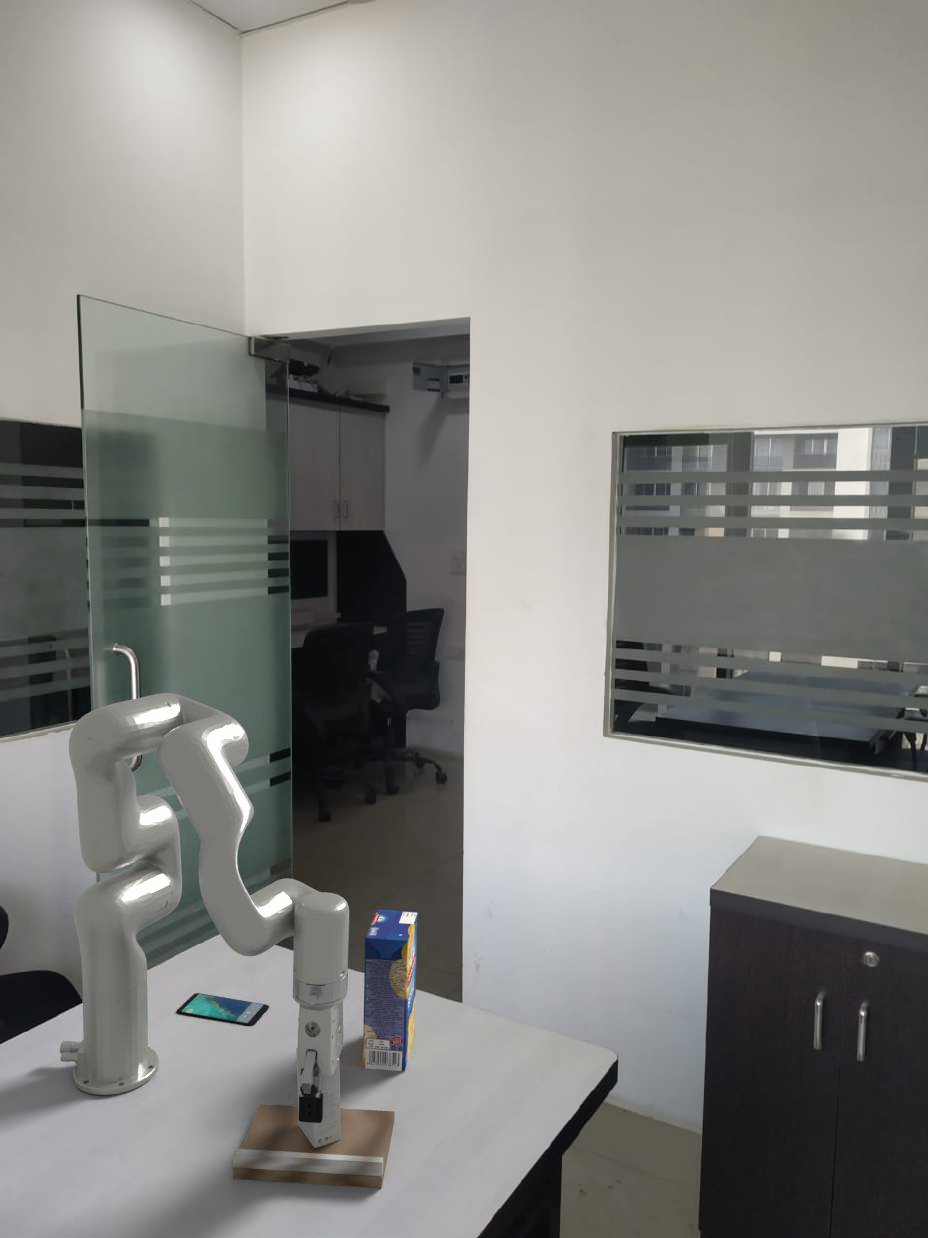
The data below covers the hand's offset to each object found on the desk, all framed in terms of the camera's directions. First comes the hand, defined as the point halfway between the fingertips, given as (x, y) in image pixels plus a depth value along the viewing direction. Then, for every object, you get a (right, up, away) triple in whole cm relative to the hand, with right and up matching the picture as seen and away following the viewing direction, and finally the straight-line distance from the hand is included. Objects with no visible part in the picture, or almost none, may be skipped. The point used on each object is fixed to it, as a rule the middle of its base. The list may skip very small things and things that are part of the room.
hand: (317, 1099), depth 135 cm
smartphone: (-22, -3, +36) cm, 42 cm away
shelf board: (0, -7, 0) cm, 7 cm away
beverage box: (+8, -4, +24) cm, 26 cm away
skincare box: (0, -5, +1) cm, 5 cm away
